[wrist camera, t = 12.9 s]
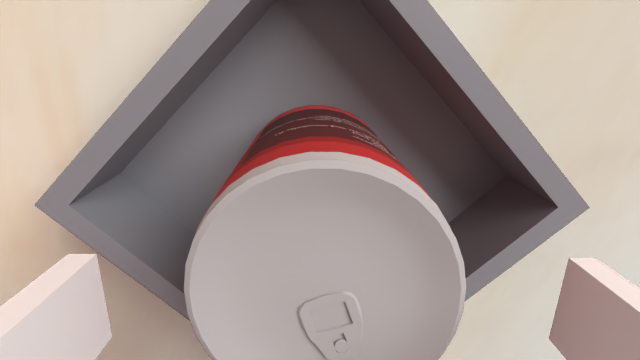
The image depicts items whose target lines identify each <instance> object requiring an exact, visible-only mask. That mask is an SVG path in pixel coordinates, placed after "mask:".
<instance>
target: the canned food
mask: <svg viewBox="0 0 640 360" xmlns="http://www.w3.org/2000/svg"><path fill="white" fill-rule="evenodd" d="M465 293H466V278H465V267H464V261H463V258H462V255H461V252H460V249H459V245H458V242H457V239H456V237H455V235H454V234H453V232H452V230H451V228H450V226H449V224H448V223H447V221H446V219H445V218H444V216H443V214H442V212H441V211H440V209H439V207H438V206H437V204H436V203H435V202H434V201H433V200H432V199H431V197H430V196H429V195H428V194H427V192H426V190H425V189H424V188H423V187H422V186H421V185H420V184H419V183H418V181H417V180H416V179H415V178H414V177H413V176H412V175H411V174H410V172H409V171H408V170H407V169H406V168H405V167H404V166H403V164H402V163H401V162H400V161H399V160H398V159H397V158H396V157H395V155H394V154H393V153H392V152H391V151H390V150H389V149H388V148H387V146H386V145H385V144H384V143H383V142H382V141H381V140H380V139H379V137H378V136H377V135H376V134H375V133H374V132H373V131H372V130H371V129H370V128H369V126H368V125H367V124H366V123H364V122H363V121H362V120H360V119H359V118H357V117H356V116H355V115H353V114H351V113H349V112H346V111H344V110H342V109H340V108H335V107H331V106H326V105H307V106H302V107H297V108H293V109H291V110H289V111H286V112H284V113H282V114H280V115H279V116H277V117H276V118H274V119H273V120H272V121H270V122H269V123H268V124H267V125H266V126H265V127H264V128H263V129H262V130H261V132H260V133H259V134H258V135H257V137H256V138H255V140H254V141H253V142H252V144H251V145H250V147H249V148H248V150H247V151H246V153H245V154H244V156H243V157H242V158H241V160H240V161H239V163H238V164H237V166H236V167H235V169H234V170H233V172H232V173H231V174H230V176H229V177H228V179H227V180H226V182H225V183H224V185H223V186H222V188H221V189H220V190H219V192H218V194H217V196H216V197H215V199H214V201H213V202H212V204H211V205H210V207H209V209H208V211H207V212H206V214H205V216H204V217H203V219H202V221H201V223H200V224H199V226H198V228H197V231H196V234H195V237H194V239H193V241H192V245H191V248H190V251H189V254H188V258H187V261H186V265H185V279H184V294H185V300H186V307H187V313H188V316H189V319H190V321H191V324H192V326H193V329H194V331H195V334H196V336H197V338H198V340H199V341H200V343H201V344H202V346H203V347H204V349H205V350H206V352H207V353H208V355H209V357H210V358H211V359H212V360H438V359H439V358H440V357H441V355H442V354H443V353H444V351H445V350H446V348H447V346H448V345H449V343H450V341H451V340H452V338H453V336H454V335H455V333H456V330H457V327H458V324H459V322H460V319H461V316H462V313H463V309H464V301H465Z"/></svg>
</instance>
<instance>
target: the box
mask: <svg viewBox="0 0 640 360" xmlns="http://www.w3.org/2000/svg"><path fill="white" fill-rule="evenodd" d="M307 105H326V106H331V107H335V108H340V109H342V110H344V111H346V112H349V113H351V114H353V115H355V116H356V117H357V118H359V119H360V120H362V121H363V122H364V123H366V124H367V125H368V126H369V128H370V129H371V130H372V131H373V132H374V133H375V134H376V135H377V136H378V137H379V139H380V140H381V141H382V142H383V143H384V144H385V145H386V146H387V148H388V149H389V150H390V151H391V152H392V153H393V154H394V155H395V157H396V158H397V159H398V160H399V161H400V162H401V163H402V164H403V166H404V167H405V168H406V169H407V170H408V171H409V172H410V174H411V175H412V176H413V177H414V178H415V179H416V180H417V181H418V183H419V184H420V185H421V186H422V187H423V188H424V189H425V190H426V192H427V194H428V195H429V196H430V197H431V199H432V200H433V201H434V202H435V203H436V204H437V206H438V207H439V209H440V211H441V212H442V214H443V216H444V218H445V219H446V221H447V223H448V224H449V226H450V228H451V230H452V232H453V234H454V235H455V237H456V239H457V242H458V245H459V249H460V252H461V255H462V258H463V261H464V267H465V278H466V293H465V301H466V300H467V299H469V298H470V297H471V296H473V295H474V294H475V293H477V292H478V291H479V290H481V289H482V288H483V287H485V286H486V285H487V284H489V283H490V282H491V281H493V280H494V279H495V278H497V277H498V276H499V275H501V274H502V273H503V272H505V271H506V270H507V269H509V268H510V267H511V266H513V265H514V264H515V263H517V262H518V261H519V260H521V259H522V258H523V257H525V256H526V255H527V254H529V253H530V252H531V251H533V250H534V249H535V248H537V247H538V246H539V245H541V244H542V243H543V242H545V241H546V240H547V239H549V238H550V237H551V236H553V235H554V234H555V233H557V232H558V231H559V230H561V229H562V228H563V227H565V226H566V225H567V224H569V223H570V222H571V221H573V220H574V219H575V218H577V217H578V216H579V215H581V214H582V213H583V212H585V211H586V210H587V209H589V208H590V207H589V206H588V205H587V204H586V202H585V201H584V200H583V198H582V197H581V196H580V195H579V193H578V192H577V191H576V189H575V188H574V187H573V186H572V184H571V183H570V182H569V181H568V179H567V178H566V177H565V175H564V174H563V173H562V172H561V170H560V169H559V168H558V167H557V165H556V164H555V163H554V161H553V160H552V159H551V158H550V156H549V155H548V154H547V153H546V151H545V150H544V149H543V147H542V146H541V145H540V144H539V142H538V141H537V140H536V138H535V137H534V136H533V135H532V133H531V132H530V131H529V130H528V128H527V127H526V126H525V124H524V123H523V122H522V121H521V119H520V118H519V117H518V116H517V114H516V113H515V112H514V110H513V109H512V108H511V107H510V105H509V104H508V103H507V102H506V100H505V99H504V98H503V96H502V95H501V94H500V93H499V91H498V90H497V89H496V87H495V86H494V85H493V84H492V82H491V81H490V80H489V79H488V77H487V76H486V75H485V73H484V72H483V71H482V70H481V68H480V67H479V66H478V65H477V63H476V62H475V61H474V59H473V58H472V57H471V56H470V54H469V53H468V52H467V51H466V49H465V48H464V47H463V45H462V44H461V43H460V42H459V40H458V39H457V38H456V36H455V35H454V34H453V33H452V31H451V30H450V29H449V28H448V26H447V25H446V24H445V22H444V21H443V20H442V19H441V17H440V16H439V15H438V14H437V12H436V11H435V10H434V8H433V7H432V6H431V5H430V3H429V2H428V1H427V0H210V1H209V3H208V4H207V5H206V6H205V7H204V8H203V10H202V11H201V12H200V13H199V14H198V15H197V17H196V18H195V19H194V20H193V21H192V22H191V24H190V25H189V26H188V27H187V28H186V29H185V30H184V32H183V33H182V34H181V35H180V36H179V37H178V39H177V40H176V41H175V42H174V43H173V44H172V46H171V47H170V48H169V49H168V50H167V51H166V53H165V54H164V55H163V56H162V57H161V58H160V60H159V61H158V62H157V63H156V64H155V65H154V67H153V68H152V69H151V70H150V71H149V72H148V74H147V75H146V76H145V77H144V78H143V79H142V81H141V82H140V83H139V84H138V85H137V86H136V87H135V89H134V90H133V91H132V92H131V93H130V94H129V96H128V97H127V98H126V99H125V100H124V101H123V103H122V104H121V105H120V106H119V107H118V108H117V110H116V111H115V112H114V113H113V114H112V115H111V117H110V118H109V119H108V120H107V121H106V122H105V124H104V125H103V126H102V127H101V128H100V129H99V131H98V132H97V133H96V134H95V135H94V136H93V137H92V139H91V140H90V141H89V142H88V143H87V144H86V146H85V147H84V148H83V149H82V150H81V151H80V153H79V154H78V155H77V156H76V157H75V158H74V160H73V161H72V162H71V163H70V164H69V165H68V167H67V168H66V169H65V170H64V171H63V172H62V174H61V175H60V176H59V177H58V178H57V179H56V181H55V182H54V183H53V184H52V185H51V186H50V187H49V189H48V190H47V191H46V192H45V193H44V194H43V196H42V197H41V198H40V199H39V200H38V201H37V203H36V204H35V206H36V207H37V208H39V209H40V210H41V211H43V212H44V213H45V214H47V215H48V216H49V217H51V218H52V219H54V220H55V221H56V222H58V223H59V224H60V225H62V226H63V227H64V228H66V229H67V230H68V231H70V232H71V233H72V234H74V235H75V236H76V237H78V238H79V239H80V240H82V241H83V242H85V243H86V244H87V245H89V246H90V247H91V248H93V249H94V250H95V251H97V252H98V253H99V254H101V255H102V256H103V257H105V258H106V259H107V260H109V261H110V262H111V263H113V264H114V265H116V266H117V267H118V268H120V269H121V270H122V271H124V272H125V273H126V274H128V275H129V276H130V277H132V278H133V279H134V280H136V281H137V282H138V283H140V284H141V285H142V286H144V287H145V288H147V289H148V290H149V291H151V292H152V293H153V294H155V295H156V296H157V297H159V298H160V299H161V300H163V301H164V302H165V303H167V304H168V305H169V306H171V307H172V308H173V309H175V310H176V311H178V312H179V313H180V314H182V315H183V316H184V317H186V318H187V319H188V320H190V319H189V316H188V313H187V307H186V300H185V294H184V279H185V265H186V261H187V258H188V254H189V251H190V248H191V245H192V241H193V239H194V237H195V234H196V231H197V228H198V226H199V224H200V223H201V221H202V219H203V217H204V216H205V214H206V212H207V211H208V209H209V207H210V205H211V204H212V202H213V201H214V199H215V197H216V196H217V194H218V192H219V190H220V189H221V188H222V186H223V185H224V183H225V182H226V180H227V179H228V177H229V176H230V174H231V173H232V172H233V170H234V169H235V167H236V166H237V164H238V163H239V161H240V160H241V158H242V157H243V156H244V154H245V153H246V151H247V150H248V148H249V147H250V145H251V144H252V142H253V141H254V140H255V138H256V137H257V135H258V134H259V133H260V132H261V130H262V129H263V128H264V127H265V126H266V125H267V124H268V123H269V122H270V121H272V120H273V119H274V118H276V117H277V116H279V115H280V114H282V113H284V112H286V111H289V110H291V109H293V108H297V107H302V106H307ZM465 301H464V302H465Z"/></svg>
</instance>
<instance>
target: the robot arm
mask: <svg viewBox="0 0 640 360" xmlns="http://www.w3.org/2000/svg"><path fill="white" fill-rule="evenodd" d="M111 338H112V333H111V328H110V322H109V317H108V312H107V307H106V301H105V296H104V291H103V285H102V280H101V275H100V269H99V264H98V259H97V254H68V255H66V256H65V257H64V258H62V259H61V260H60V261H59V262H57V263H56V264H55V265H53V266H52V267H51V268H50V269H48V270H47V271H46V272H44V273H43V274H42V275H40V276H39V277H38V278H37V279H35V280H34V281H33V282H31V283H30V284H29V285H28V286H26V287H25V288H24V289H22V290H21V291H20V292H18V293H17V294H16V295H15V296H13V297H12V298H11V299H9V300H8V301H7V302H5V303H4V304H3V305H2V306H0V360H95V359H96V358H97V357H98V355H99V354H100V353H101V351H102V350H103V348H104V347H105V346H106V344H107V343H108V342H109V340H110V339H111ZM549 339H550V341H551V342H552V343H553V344H554V345H555V346H556V348H557V349H558V350H559V351H560V352H561V354H562V355H563V356H564V357H565V358H566V359H567V360H640V288H638V287H637V286H635V285H634V284H633V283H631V282H630V281H628V280H627V279H625V278H624V277H622V276H621V275H620V274H618V273H617V272H615V271H614V270H612V269H611V268H610V267H608V266H607V265H605V264H604V263H602V262H601V261H599V260H598V259H597V258H569V260H568V264H567V268H566V272H565V276H564V280H563V284H562V288H561V292H560V296H559V300H558V304H557V308H556V312H555V316H554V320H553V324H552V328H551V332H550V336H549Z"/></svg>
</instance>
